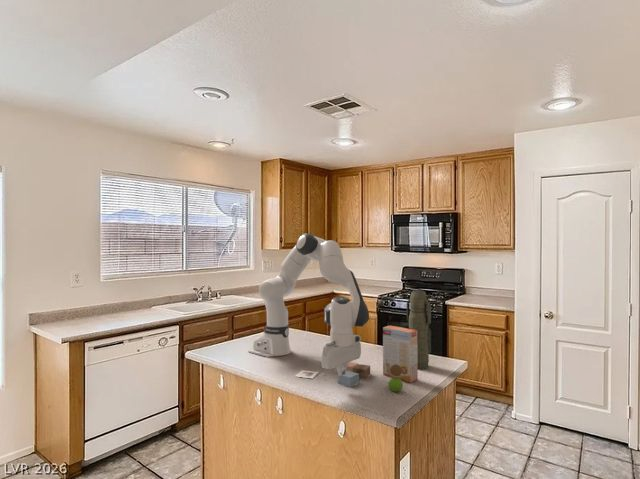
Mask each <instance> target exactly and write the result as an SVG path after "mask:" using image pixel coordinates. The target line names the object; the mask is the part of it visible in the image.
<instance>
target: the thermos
mask: <svg viewBox="0 0 640 479" xmlns="http://www.w3.org/2000/svg"><path fill="white" fill-rule="evenodd" d="M406 321H407V322H408V329H412V330H417V362H418V363H417V364H418V370H427V369H428V368H429V362H430V360H429V358H430V357H429V356H430V354H429V350H428V331H429V325H430V324H431V323H432V305H431V302H428V296H427V293H426V291H424V290H421V289H415V290H412V291H411V293H410V296H409V299H408V300H407V302H406Z"/></svg>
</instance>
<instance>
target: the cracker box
mask: <svg viewBox="0 0 640 479" xmlns="http://www.w3.org/2000/svg"><path fill="white" fill-rule="evenodd" d="M386 359H387V362H388V363H389V364H390V365H389V367H390V368H391V366H393V365H395V364H397V365H399V366H400V367H401V368H402V373H401V374H400V375H402V377H400V379H401V381H402V382H407V383H413V382H415V381H418V378H419V377H418V373H419V372H418V370H419V369H418V364H417V363H418V362H417V330H412V329H409V328H406V327H401V326H394V325H387V326H384V327H382V375H384V376H387V377H390V378H392V377H391V376H390V375H389V373H388V371H387V366H386Z"/></svg>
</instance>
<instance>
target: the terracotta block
mask: <svg viewBox="0 0 640 479" xmlns="http://www.w3.org/2000/svg"><path fill="white" fill-rule="evenodd" d="M356 364H359V363H358V362H354V361H351V362H348V366H347V369H346V371H351V372H353V367H354V366H355V365H356ZM341 369H342V367H341Z"/></svg>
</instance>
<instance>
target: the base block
mask: <svg viewBox="0 0 640 479" xmlns="http://www.w3.org/2000/svg"><path fill="white" fill-rule="evenodd" d="M353 372H355V373H358V374H359V379H365V380H366V379H368V378H369V377H370V375H371V365H369V364H361V363H358V364H356V365H355V366H354V367H353Z"/></svg>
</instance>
